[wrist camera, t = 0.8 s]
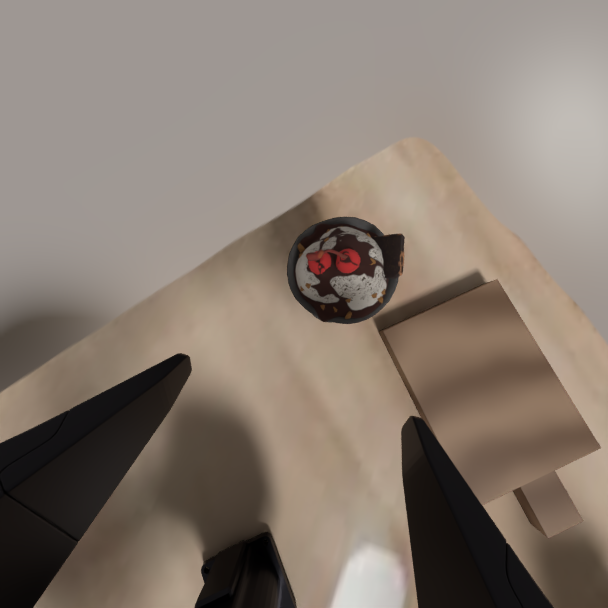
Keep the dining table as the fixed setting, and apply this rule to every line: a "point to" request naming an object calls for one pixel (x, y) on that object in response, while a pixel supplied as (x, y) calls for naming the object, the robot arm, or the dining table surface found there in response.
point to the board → (493, 402)
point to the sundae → (345, 269)
